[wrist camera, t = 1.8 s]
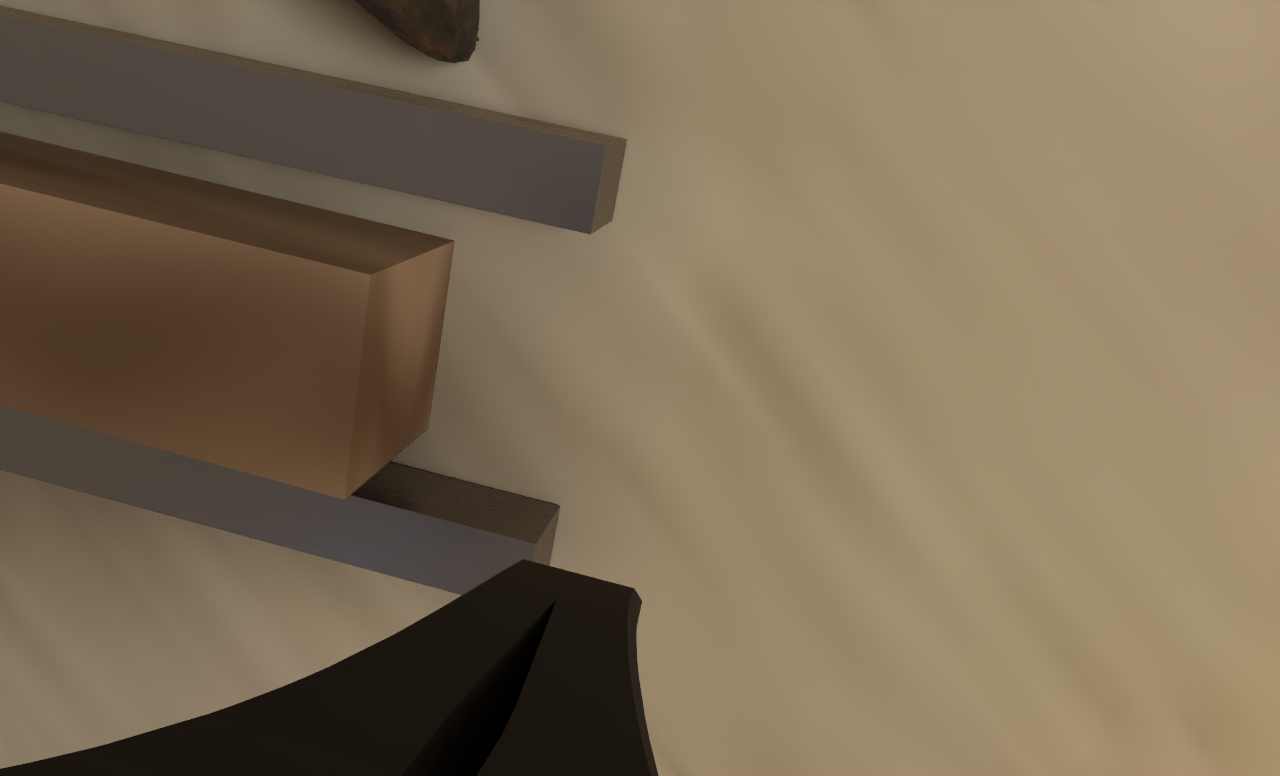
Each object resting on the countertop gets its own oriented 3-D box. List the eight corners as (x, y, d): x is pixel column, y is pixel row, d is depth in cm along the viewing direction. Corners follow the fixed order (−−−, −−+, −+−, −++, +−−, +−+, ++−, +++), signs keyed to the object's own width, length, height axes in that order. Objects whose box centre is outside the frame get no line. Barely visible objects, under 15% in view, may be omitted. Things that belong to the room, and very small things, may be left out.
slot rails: (548, 569, 21) (524, 611, 19) (-414, 313, 24) (-511, 331, 22) (626, 139, 18) (606, 145, 16) (-480, -97, 21) (-596, -113, 19)
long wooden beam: (432, 424, 21) (344, 499, 17) (-75, 291, 22) (-260, 333, 18) (459, 238, 19) (371, 275, 16) (-81, 109, 21) (-282, 113, 17)
